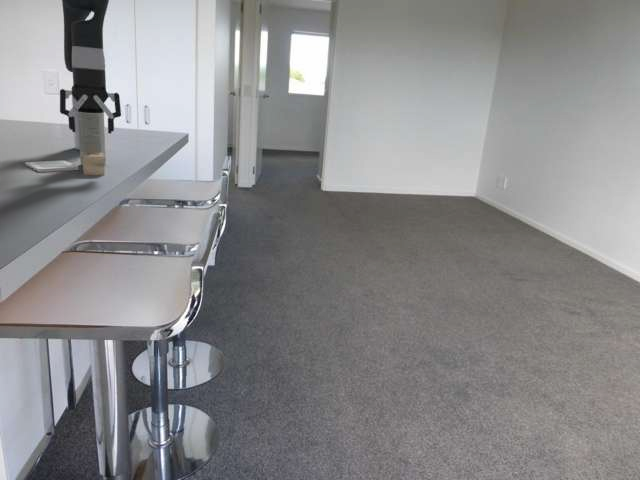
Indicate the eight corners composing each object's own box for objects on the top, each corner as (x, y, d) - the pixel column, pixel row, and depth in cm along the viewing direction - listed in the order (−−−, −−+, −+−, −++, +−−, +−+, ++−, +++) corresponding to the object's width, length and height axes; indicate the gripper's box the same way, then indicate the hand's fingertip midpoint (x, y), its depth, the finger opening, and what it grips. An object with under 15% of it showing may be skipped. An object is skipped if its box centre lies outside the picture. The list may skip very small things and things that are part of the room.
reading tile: (25, 165, 135) (25, 161, 135) (64, 163, 142) (64, 160, 142) (38, 172, 129) (38, 168, 129) (78, 169, 136) (78, 166, 136)
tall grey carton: (111, 165, 145) (108, 93, 139) (94, 168, 139) (90, 93, 133) (92, 162, 147) (89, 91, 141) (74, 165, 141) (70, 91, 135)
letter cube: (83, 171, 135) (82, 152, 134) (103, 171, 137) (103, 152, 136) (83, 175, 131) (82, 155, 129) (104, 175, 133) (103, 155, 131)
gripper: (56, 64, 120) (60, 133, 125) (120, 69, 126) (122, 135, 130) (57, 64, 126) (62, 129, 131) (118, 69, 132) (120, 131, 137)
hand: (92, 132), depth 131 cm, fingers open, 8 cm apart
